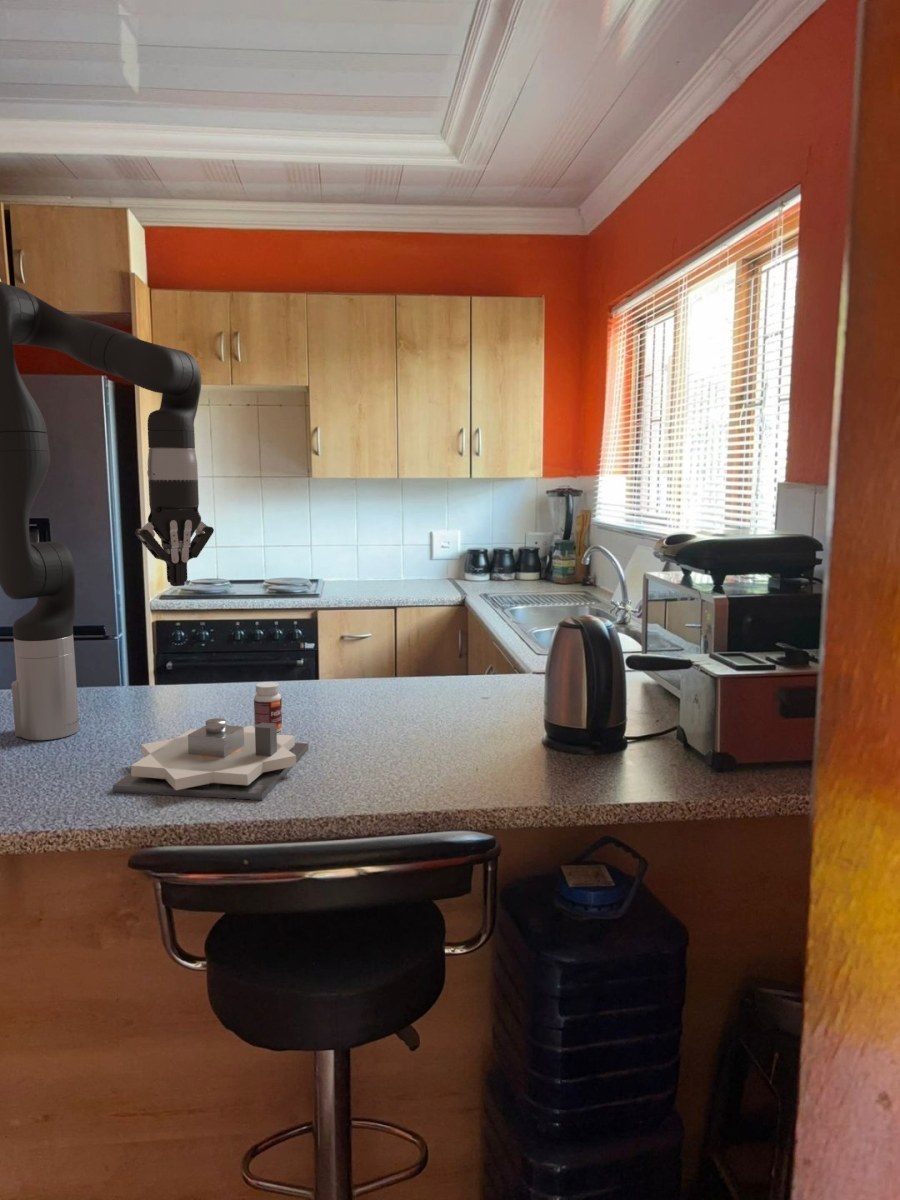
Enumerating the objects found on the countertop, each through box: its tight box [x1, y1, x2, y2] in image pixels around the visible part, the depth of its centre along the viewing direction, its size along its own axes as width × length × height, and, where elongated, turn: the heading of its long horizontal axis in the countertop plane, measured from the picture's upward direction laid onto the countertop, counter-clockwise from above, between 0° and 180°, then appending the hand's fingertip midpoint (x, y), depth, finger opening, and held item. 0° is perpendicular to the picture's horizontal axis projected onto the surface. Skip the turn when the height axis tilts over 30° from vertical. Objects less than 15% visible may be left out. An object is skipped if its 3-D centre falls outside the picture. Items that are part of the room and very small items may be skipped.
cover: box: [188, 717, 245, 758], centre depth 127 cm, size 6×6×4 cm
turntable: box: [130, 723, 297, 790], centre depth 127 cm, size 26×26×6 cm
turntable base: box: [112, 742, 309, 801], centre depth 128 cm, size 22×22×1 cm
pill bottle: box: [253, 681, 283, 733], centre depth 147 cm, size 5×5×8 cm
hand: (177, 585), depth 135 cm, fingers closed
